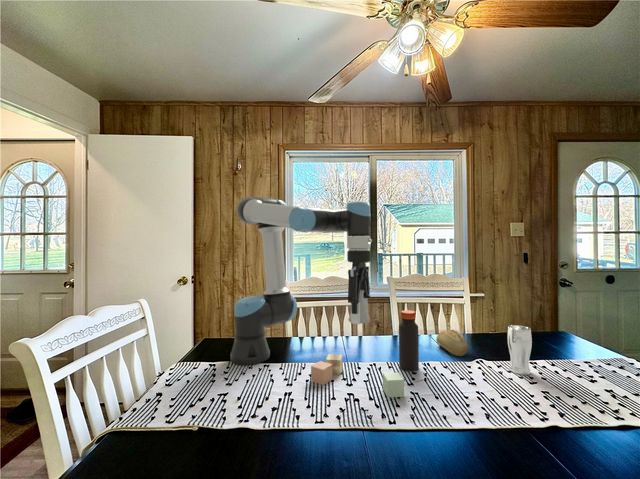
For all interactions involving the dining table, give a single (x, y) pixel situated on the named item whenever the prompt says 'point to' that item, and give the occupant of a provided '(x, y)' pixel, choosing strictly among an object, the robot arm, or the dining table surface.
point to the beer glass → (519, 348)
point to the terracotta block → (321, 372)
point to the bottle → (408, 342)
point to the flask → (362, 310)
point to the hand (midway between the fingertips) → (359, 320)
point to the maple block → (335, 363)
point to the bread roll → (452, 342)
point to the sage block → (393, 384)
